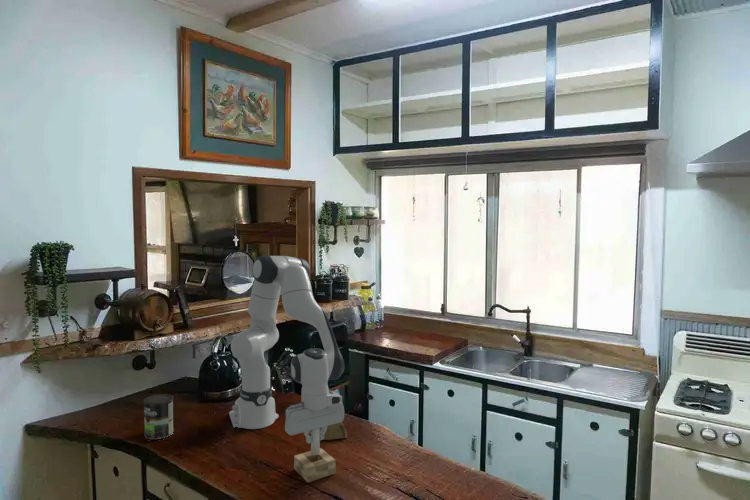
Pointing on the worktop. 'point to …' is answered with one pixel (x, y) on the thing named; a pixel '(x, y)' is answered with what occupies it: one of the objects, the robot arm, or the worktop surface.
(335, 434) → the rock
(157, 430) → the coffee can
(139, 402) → the worktop surface
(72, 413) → the worktop surface
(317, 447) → the long grey cylinder
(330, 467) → the wooden block with hole
